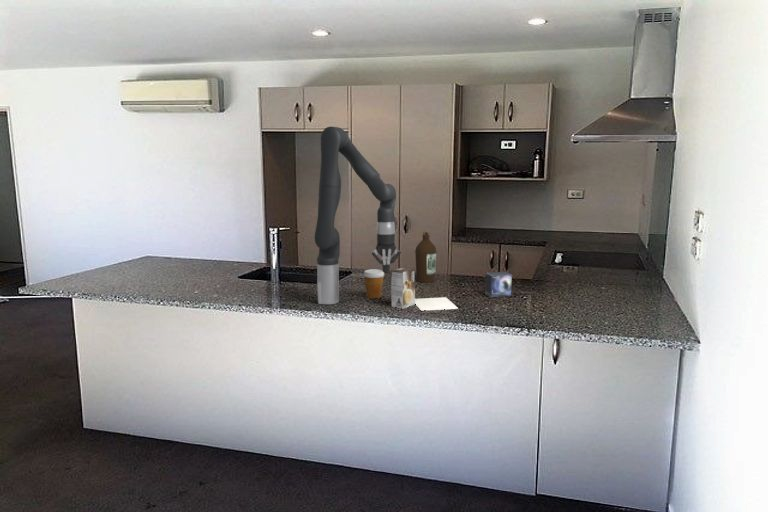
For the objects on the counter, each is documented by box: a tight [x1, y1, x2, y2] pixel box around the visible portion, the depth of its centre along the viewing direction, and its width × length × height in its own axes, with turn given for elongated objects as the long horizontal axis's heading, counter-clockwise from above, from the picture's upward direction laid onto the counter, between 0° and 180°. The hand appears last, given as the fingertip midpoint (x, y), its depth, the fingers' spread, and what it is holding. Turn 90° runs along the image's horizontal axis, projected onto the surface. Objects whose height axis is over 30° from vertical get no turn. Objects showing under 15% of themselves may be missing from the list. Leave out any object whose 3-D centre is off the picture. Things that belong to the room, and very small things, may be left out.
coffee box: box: [390, 266, 416, 310], centre depth 248 cm, size 9×6×16 cm
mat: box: [415, 296, 459, 311], centre depth 252 cm, size 16×18×1 cm
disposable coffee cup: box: [363, 268, 385, 299], centre depth 263 cm, size 10×10×12 cm
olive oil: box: [414, 231, 437, 284], centre depth 294 cm, size 11×11×25 cm
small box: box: [484, 271, 513, 299], centre depth 265 cm, size 11×6×10 cm, turn 105°
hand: (386, 273), depth 245 cm, fingers closed
